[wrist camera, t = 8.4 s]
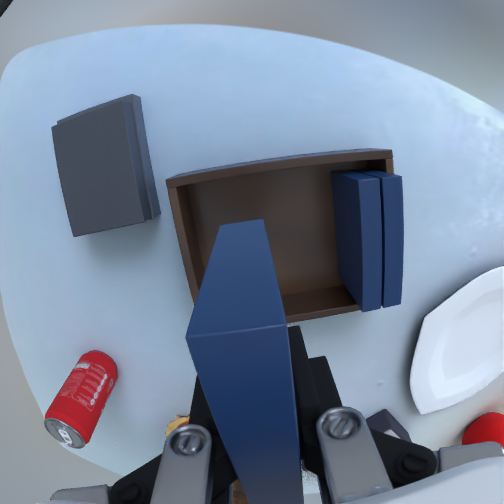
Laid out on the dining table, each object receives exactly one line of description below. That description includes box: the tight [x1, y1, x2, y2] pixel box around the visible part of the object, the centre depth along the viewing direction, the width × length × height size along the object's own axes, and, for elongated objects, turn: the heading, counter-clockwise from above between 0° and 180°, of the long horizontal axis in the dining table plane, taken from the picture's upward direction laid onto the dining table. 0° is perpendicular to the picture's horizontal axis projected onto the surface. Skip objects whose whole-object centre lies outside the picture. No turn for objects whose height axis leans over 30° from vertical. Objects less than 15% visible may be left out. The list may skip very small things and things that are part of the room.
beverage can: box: [44, 350, 117, 449], centre depth 27 cm, size 5×5×12 cm
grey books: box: [52, 94, 161, 237], centre depth 24 cm, size 11×8×4 cm
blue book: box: [185, 219, 304, 504], centre depth 10 cm, size 10×2×7 cm, turn 9°
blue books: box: [331, 168, 404, 312], centre depth 24 cm, size 10×3×7 cm, turn 9°
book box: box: [166, 148, 394, 323], centre depth 26 cm, size 13×17×5 cm
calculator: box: [301, 410, 411, 477], centre depth 38 cm, size 11×4×15 cm
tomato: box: [462, 412, 504, 447], centre depth 36 cm, size 12×12×13 cm
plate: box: [410, 266, 504, 415], centre depth 32 cm, size 23×23×2 cm
